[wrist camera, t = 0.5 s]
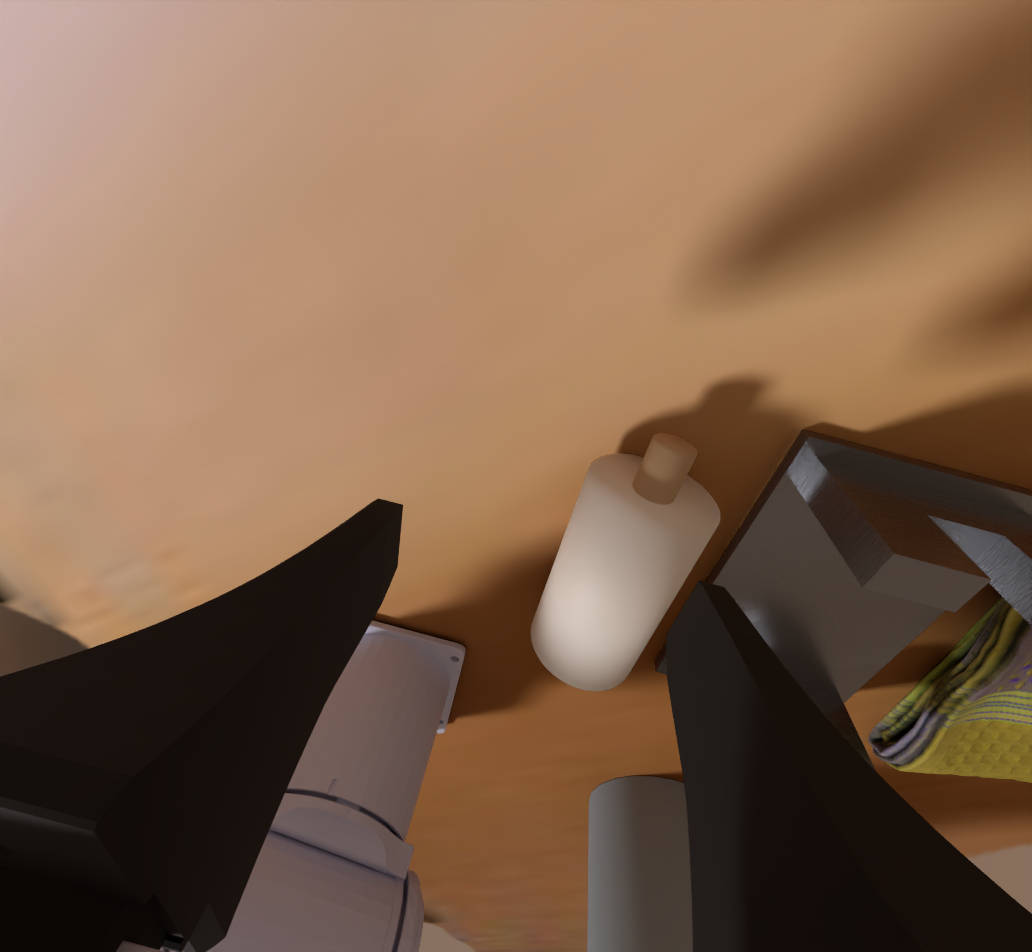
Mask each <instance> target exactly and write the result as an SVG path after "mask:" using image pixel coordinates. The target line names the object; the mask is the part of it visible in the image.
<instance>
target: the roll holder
mask: <svg viewBox="0 0 1032 952" xmlns="http://www.w3.org/2000/svg"><path fill="white" fill-rule="evenodd" d="M706 583H710V584H714V585H718V586H722V587H725V589H726V590H727V591H728V592H729V593H730V595H731V596H732V597H733V599H734V600H735V601H736V603H737V604H738V605H739V606H740V608H741V609H742V611H743V612H744V613H745V615H746V616H747V617H748V619H749V620H750V621H751V623H752V624H753V625H754V627H755V628H756V629H757V631H758V632H759V633H760V635H761V636H762V637H763V639H764V640H765V642H766V643H767V644H768V646H769V647H770V648H771V650H772V651H773V652H774V653H775V655H776V656H777V657H778V659H779V660H780V661H781V663H782V664H783V665H784V666H785V668H786V669H787V670H788V672H789V673H790V674H791V675H792V677H793V678H794V679H795V680H796V682H797V683H798V684H799V685H800V687H801V688H802V689H803V690H804V692H805V693H806V694H807V695H808V696H809V698H810V699H811V700H812V701H813V702H814V704H815V705H816V706H817V707H818V708H819V710H820V711H821V712H822V713H823V714H824V715H825V717H826V718H827V719H828V720H829V721H830V723H831V724H832V725H833V726H834V727H835V728H836V729H837V730H838V732H839V733H840V734H841V735H842V736H843V737H844V738H845V739H846V740H847V741H848V742H849V744H850V745H851V746H852V747H853V748H854V749H855V750H856V751H857V752H858V753H859V754H860V755H861V756H862V757H863V758H864V760H865V761H866V762H867V763H868V764H869V765H870V766H871V767H872V768H873V769H874V770H875V768H874V766H873V764H872V762H871V760H870V758H869V756H868V754H867V752H866V749H865V747H864V745H863V743H862V741H861V739H860V737H859V735H858V733H857V731H856V728H855V726H854V724H853V722H852V720H851V718H850V716H849V714H848V712H847V709H846V707H845V705H844V702H845V701H847V700H848V699H849V698H850V697H851V696H852V695H853V694H854V693H855V692H857V691H858V690H859V689H860V688H861V687H862V686H863V685H864V684H865V683H866V682H868V681H869V680H870V679H871V678H872V677H873V676H874V675H875V674H876V673H878V672H879V671H880V670H881V669H882V668H883V667H884V666H885V665H886V664H887V663H889V662H890V661H891V660H892V659H893V658H894V657H895V656H896V655H897V654H899V653H900V652H901V651H902V650H903V649H904V648H905V647H906V646H907V645H908V644H910V643H911V642H912V641H913V640H914V639H915V638H916V637H917V636H918V635H920V634H921V633H922V632H923V631H924V630H925V629H926V628H927V627H928V626H929V625H931V624H932V623H933V622H934V621H935V620H936V619H937V618H938V617H939V616H941V615H942V614H943V613H944V612H945V611H946V610H947V611H951V612H954V613H955V612H956V611H957V610H959V609H960V608H961V607H962V606H963V605H964V604H965V603H966V602H968V601H969V600H970V599H971V598H972V597H973V596H974V595H975V594H977V593H978V592H979V591H980V590H981V589H982V588H983V587H984V586H986V585H987V584H988V583H990V584H991V585H992V586H993V587H994V588H995V589H996V590H997V592H998V593H999V594H1000V595H1001V596H1002V597H1003V598H1004V599H1005V600H1006V601H1007V602H1008V603H1009V604H1010V605H1011V606H1012V607H1013V608H1014V609H1015V610H1016V611H1017V612H1018V613H1019V614H1020V615H1021V616H1022V617H1023V618H1024V619H1025V620H1026V621H1027V622H1028V623H1029V624H1030V625H1031V626H1032V490H1028V489H1025V488H1021V487H1017V486H1013V485H1010V484H1006V483H1002V482H998V481H995V480H991V479H987V478H983V477H980V476H976V475H972V474H968V473H965V472H961V471H957V470H953V469H950V468H946V467H942V466H938V465H935V464H931V463H927V462H923V461H920V460H916V459H912V458H908V457H905V456H901V455H897V454H893V453H890V452H886V451H882V450H879V449H875V448H871V447H867V446H864V445H860V444H856V443H852V442H849V441H845V440H841V439H837V438H834V437H830V436H826V435H822V434H819V433H815V432H811V431H807V430H804V429H803V430H802V431H801V433H800V435H799V436H798V438H797V439H796V441H795V442H794V444H793V445H792V447H791V449H790V450H789V452H788V453H787V455H786V456H785V458H784V460H783V461H782V463H781V464H780V466H779V467H778V469H777V471H776V472H775V474H774V475H773V477H772V478H771V480H770V482H769V483H768V485H767V486H766V488H765V489H764V491H763V492H762V494H761V496H760V497H759V499H758V500H757V502H756V503H755V505H754V507H753V508H752V510H751V511H750V513H749V514H748V516H747V518H746V519H745V521H744V522H743V524H742V525H741V527H740V529H739V530H738V532H737V533H736V535H735V536H734V538H733V539H732V541H731V543H730V544H729V546H728V547H727V549H726V550H725V552H724V554H723V555H722V557H721V558H720V560H719V561H718V563H717V565H716V566H715V568H714V569H713V571H712V572H711V574H710V575H709V577H708V579H707V580H706ZM655 670H656V671H657V672H661V673H664V674H667V662H666V644H665V646H664V648H663V649H662V651H661V652H660V654H659V655H658V657H657V659H656V660H655ZM875 771H876V770H875Z"/></svg>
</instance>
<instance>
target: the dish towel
mask: <svg viewBox="0 0 1032 952" xmlns="http://www.w3.org/2000/svg"><path fill="white" fill-rule="evenodd" d="M869 742H870V744H871V746H872V747H873V753H874V754H875V755H876V756H877V757H878V758H879V759H881V760H883V761H886V763H887V764H888V765H889V766H891V767H893V768H895V769H897V770H899V771H906V772H917V773H925V774H929V773H933V774H943V775H944V774H954V775H959V776H978V777H983V778H998V779H1013V780H1017V781H1022V782H1029V783H1032V626H1031V625H1030V624H1029V623H1028V622H1027V621H1026V620H1025V619H1024V618H1023V617H1022V616H1021V615H1020V614H1019V613H1018V612H1017V611H1016V610H1015V609H1014V608H1013V607H1012V606H1011V605H1010V604H1009V603H1008V602H1007V601H1006V600H1005V599H1004V598H1003V597H1001V598H1000V599H999V600H998V601H997V602H996V603H995V605H994V606H993V607H992V608H991V609H990V610H989V611H988V612H987V613H986V614H985V615H984V616H983V617H982V618H981V619H980V620H979V621H978V622H977V623H976V624H975V625H974V626H973V627H972V628H971V630H970V631H969V632H968V633H967V634H966V635H965V636H964V637H963V639H962V640H961V641H960V642H959V643H958V644H957V645H956V646H955V648H954V649H953V650H952V651H951V652H950V653H949V655H948V656H947V657H946V658H945V659H944V660H943V661H942V662H941V663H940V664H938V665H937V666H936V667H935V668H934V669H933V670H931V671H930V672H929V673H928V674H927V675H926V676H925V677H923V678H922V679H921V681H920V682H919V683H918V684H917V686H916V687H915V688H914V689H913V690H912V691H911V692H910V693H909V694H908V695H907V696H906V697H904V698H903V699H902V700H901V701H900V702H899V703H898V704H897V705H896V706H895V708H893V709H892V710H891V711H890V712H889V713H888V714H887V715H886V716H885V717H884V718H883V720H882V721H881V722H880V723H878V724H877V725H876V726H875V727H874V729H873V730H872V732H871V734H870V736H869Z"/></svg>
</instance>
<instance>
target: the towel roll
mask: <svg viewBox="0 0 1032 952" xmlns="http://www.w3.org/2000/svg"><path fill="white" fill-rule="evenodd" d="M697 455H698V451H697V449H696V448H695V447H694V446H693V445H692V444H691V443H690V442H688V441H686V440H685V439H683V438H680V437H678V436H675V435H672V434H667V433H657V434H655V435H653V437H652V440H651V442H650V444H649V446H648V449H647V451H646V453H645V456H644V458H643V457H640V456H636V455H632V454H609V455H605V456H601V457H599V458H597V459H596V460H594V461H593V462H592V463H591V465H590V467H589V469H588V472H587V474H586V477H585V480H584V482H583V485H582V488H581V491H580V493H579V496H578V499H577V501H576V504H575V507H574V510H573V512H572V515H571V518H570V521H569V523H568V526H567V529H566V531H565V534H564V537H563V540H562V542H561V545H560V548H559V551H558V553H557V556H556V559H555V561H554V564H553V567H552V570H551V572H550V575H549V578H548V581H547V583H546V586H545V589H544V591H543V594H542V597H541V600H540V602H539V605H538V608H537V611H536V613H535V616H534V619H533V622H532V625H531V640H532V645H533V648H534V650H535V652H536V654H537V656H538V658H539V659H540V661H541V663H542V664H543V665H544V666H545V667H546V669H548V670H549V671H550V672H551V673H552V674H553V675H554V676H555V677H557V678H558V679H560V680H561V681H563V682H564V683H566V684H568V685H570V686H573V687H576V688H578V689H582V690H587V691H604V690H608V689H611V688H614V687H616V686H618V685H619V684H621V683H622V682H623V681H624V680H625V679H626V678H627V676H628V675H629V673H630V671H631V670H632V668H633V666H634V665H635V663H636V661H637V660H638V658H639V656H640V655H641V653H642V651H643V650H644V648H645V646H646V645H647V643H648V641H649V640H650V638H651V636H652V635H653V633H654V632H655V630H656V628H657V627H658V625H659V623H660V622H661V620H662V618H663V617H664V615H665V613H666V612H667V610H668V608H669V607H670V605H671V603H672V602H673V600H674V598H675V597H676V595H677V593H678V592H679V590H680V588H681V587H682V585H683V583H684V582H685V580H686V578H687V577H688V575H689V573H690V572H691V570H692V568H693V567H694V565H695V563H696V562H697V560H698V558H699V557H700V555H701V553H702V552H703V550H704V548H705V547H706V545H707V543H708V542H709V540H710V539H711V537H712V535H713V534H714V532H715V530H716V529H717V527H718V525H719V523H720V510H719V508H718V505H717V503H716V502H715V500H714V499H713V497H712V496H711V495H710V494H709V493H708V492H707V490H706V489H705V488H703V487H702V486H701V485H700V484H699V483H698V482H696V481H695V480H694V479H692V478H691V477H689V476H688V475H687V474H688V472H689V470H690V468H691V466H692V464H693V462H694V461H695V459H696V457H697Z"/></svg>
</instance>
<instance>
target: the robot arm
mask: <svg viewBox="0 0 1032 952" xmlns="http://www.w3.org/2000/svg"><path fill="white" fill-rule="evenodd" d="M402 511H403V505H402V504H398V503H394V502H390V501H386V500H382V499H377V500H375V501H373V502H372V503H370V504H369V505H367V506H366V507H365V508H363V509H362V510H361V511H359V512H358V513H356V514H355V515H354V516H352V517H351V518H349V519H348V520H347V521H345V522H344V523H342V524H341V525H339V526H338V527H337V528H335V529H334V530H332V531H331V532H329V533H328V534H326V535H325V536H323V537H322V538H320V539H319V540H317V541H316V542H314V543H313V544H311V545H310V546H308V547H307V548H305V549H304V550H302V551H300V552H299V553H297V554H295V555H294V556H292V557H290V558H289V559H287V560H285V561H284V562H282V563H280V564H279V565H277V566H275V567H274V568H272V569H270V570H269V571H267V572H265V573H263V574H261V575H260V576H258V577H256V578H254V579H252V580H250V581H248V582H247V583H245V584H243V585H241V586H239V587H237V588H235V589H233V590H231V591H229V592H227V593H225V594H223V595H221V596H219V597H217V598H215V599H212V600H210V601H208V602H206V603H204V604H201V605H199V606H197V607H195V608H192V609H190V610H188V611H185V612H183V613H181V614H178V615H176V616H174V617H171V618H169V619H167V620H164V621H162V622H160V623H157V624H155V625H152V626H150V627H147V628H145V629H142V630H139V631H137V632H134V633H131V634H129V635H126V636H124V637H121V638H118V639H115V640H112V641H110V642H107V643H104V644H101V645H98V646H96V647H93V648H90V649H87V650H84V651H81V652H78V653H75V654H72V655H69V656H67V657H63V658H60V659H57V660H53V661H50V662H47V663H43V664H40V665H37V666H34V667H30V668H28V669H24V670H21V671H18V672H14V673H11V674H8V675H4V676H1V677H0V952H418V951H419V946H420V941H421V935H422V928H423V917H424V902H423V896H422V893H421V889H420V882H419V878H418V875H417V874H416V873H415V872H414V871H411V870H408V868H409V864H410V861H411V857H412V854H413V850H414V846H413V845H411V844H408V843H406V842H405V840H406V836H407V833H408V829H409V826H410V822H411V819H412V816H413V812H414V809H415V805H416V802H417V798H418V795H419V791H420V788H421V784H422V781H423V778H424V774H425V771H426V767H427V764H428V760H429V757H430V753H431V750H432V747H433V743H434V740H435V736H436V733H443V732H445V730H446V726H447V722H448V718H449V714H450V710H451V707H452V703H453V699H454V695H455V691H456V687H457V683H458V679H459V676H460V672H461V668H462V664H463V660H464V656H465V652H466V649H465V647H464V646H463V645H461V644H458V643H455V642H451V641H447V640H444V639H440V638H436V637H432V636H429V635H425V634H421V633H418V632H414V631H410V630H406V629H403V628H399V627H395V626H392V625H388V624H384V623H380V622H377V621H373V618H374V617H375V615H376V613H377V611H378V609H379V608H380V606H381V604H382V602H383V600H384V597H385V595H386V593H387V590H388V588H389V586H390V583H391V581H392V579H393V576H394V574H395V571H396V569H397V566H398V555H399V544H400V533H401V522H402ZM666 662H667V679H668V686H669V693H670V699H671V706H672V712H673V718H674V724H675V730H676V736H677V742H678V748H679V754H680V760H681V766H682V772H683V779H684V787H685V795H686V805H687V820H688V835H689V849H690V872H691V894H692V934H693V952H1032V914H1031V913H1030V912H1029V911H1028V910H1026V909H1025V908H1024V907H1023V906H1021V905H1020V904H1019V903H1018V902H1016V900H1014V899H1013V898H1012V897H1011V896H1010V895H1009V894H1007V893H1006V892H1005V891H1004V890H1003V889H1002V888H1000V887H999V886H998V885H997V884H996V883H995V882H994V881H992V880H991V879H990V878H989V877H988V876H987V875H986V874H984V873H983V872H982V871H981V870H980V869H978V867H976V866H975V865H974V864H973V863H972V862H971V861H969V860H968V859H967V858H966V857H965V856H964V855H963V854H962V853H960V852H959V851H958V850H957V849H956V848H955V847H954V846H953V845H952V844H951V843H949V842H948V841H947V840H946V839H945V838H944V837H943V836H942V835H941V834H940V833H939V832H937V831H936V830H935V829H934V828H933V827H932V826H931V825H930V824H929V823H928V822H927V821H926V820H925V819H924V818H923V817H922V816H921V815H920V814H918V813H917V812H916V811H915V810H914V809H913V808H912V807H911V806H910V805H909V804H908V803H907V802H906V801H905V800H904V799H903V798H902V797H901V796H900V795H899V794H898V793H897V792H896V791H895V790H894V789H893V788H892V787H891V786H890V785H889V784H888V783H887V782H886V781H885V780H884V779H883V778H882V777H881V776H880V775H879V774H878V773H877V772H876V771H875V770H874V769H873V768H872V767H871V766H870V765H869V764H868V763H867V762H866V761H865V760H864V758H863V757H862V756H861V755H860V754H859V753H858V752H857V751H856V750H855V749H854V748H853V747H852V746H851V745H850V744H849V742H848V741H847V740H846V739H845V738H844V737H843V736H842V735H841V734H840V733H839V732H838V730H837V729H836V728H835V727H834V726H833V725H832V724H831V723H830V721H829V720H828V719H827V718H826V717H825V715H824V714H823V713H822V712H821V711H820V710H819V708H818V707H817V706H816V705H815V704H814V702H813V701H812V700H811V699H810V698H809V696H808V695H807V694H806V693H805V692H804V690H803V689H802V688H801V687H800V685H799V684H798V683H797V682H796V680H795V679H794V678H793V677H792V675H791V674H790V673H789V672H788V670H787V669H786V668H785V666H784V665H783V664H782V663H781V661H780V660H779V659H778V657H777V656H776V655H775V653H774V652H773V651H772V650H771V648H770V647H769V646H768V644H767V643H766V642H765V640H764V639H763V637H762V636H761V635H760V633H759V632H758V631H757V629H756V628H755V627H754V625H753V624H752V623H751V621H750V620H749V619H748V617H747V616H746V615H745V613H744V612H743V611H742V609H741V608H740V606H739V605H738V604H737V603H736V601H735V600H734V599H733V597H732V596H731V595H730V593H729V592H728V591H727V590H726V589H725V587H722V586H718V585H714V584H710V583H706V582H703V581H698V583H697V585H696V586H695V588H694V590H693V591H692V593H691V595H690V596H689V598H688V600H687V602H686V603H685V605H684V607H683V608H682V610H681V612H680V613H679V615H678V617H677V618H676V620H675V622H674V623H673V625H672V627H671V628H670V630H669V632H668V633H667V635H666Z"/></svg>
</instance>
